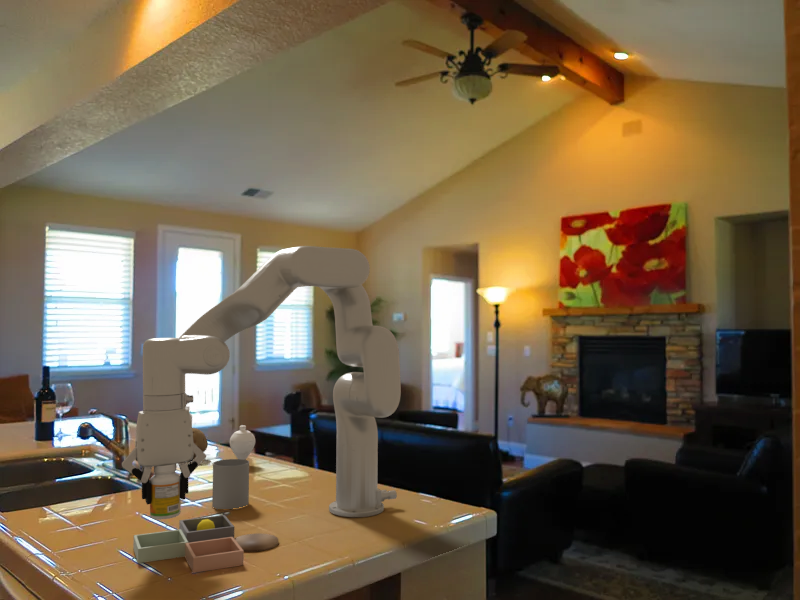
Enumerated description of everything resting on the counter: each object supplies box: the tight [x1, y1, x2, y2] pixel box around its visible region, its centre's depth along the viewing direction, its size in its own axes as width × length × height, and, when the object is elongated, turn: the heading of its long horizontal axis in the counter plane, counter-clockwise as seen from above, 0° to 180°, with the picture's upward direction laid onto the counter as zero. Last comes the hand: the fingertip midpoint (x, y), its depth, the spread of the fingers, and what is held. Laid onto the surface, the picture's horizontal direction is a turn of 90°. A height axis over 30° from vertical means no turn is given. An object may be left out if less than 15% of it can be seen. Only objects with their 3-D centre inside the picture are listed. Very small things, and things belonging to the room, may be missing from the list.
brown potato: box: [191, 427, 209, 461], centre depth 208 cm, size 9×9×10 cm
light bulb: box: [196, 519, 215, 531], centre depth 134 cm, size 3×6×4 cm, turn 38°
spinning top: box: [228, 424, 256, 460], centre depth 200 cm, size 8×8×12 cm
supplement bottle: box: [149, 464, 182, 520], centre depth 124 cm, size 5×5×10 cm
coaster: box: [234, 533, 279, 553], centre depth 128 cm, size 9×9×1 cm
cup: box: [211, 458, 250, 510], centre depth 156 cm, size 8×8×10 cm
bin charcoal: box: [178, 514, 235, 543], centre depth 133 cm, size 9×9×2 cm
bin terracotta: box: [184, 537, 245, 574], centre depth 119 cm, size 9×9×2 cm
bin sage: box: [132, 529, 188, 564], centre depth 123 cm, size 9×9×2 cm
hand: (165, 499), depth 124 cm, fingers closed on supplement bottle, 5 cm apart
